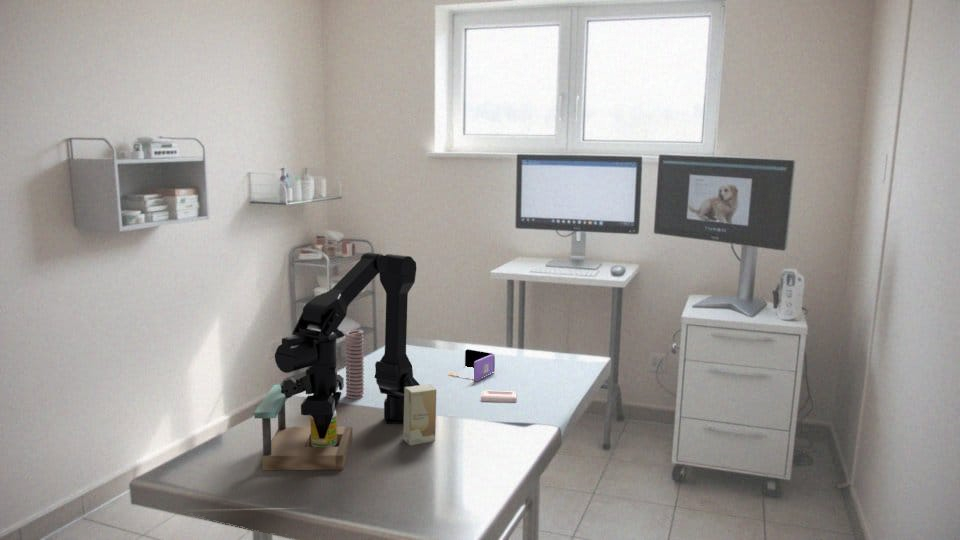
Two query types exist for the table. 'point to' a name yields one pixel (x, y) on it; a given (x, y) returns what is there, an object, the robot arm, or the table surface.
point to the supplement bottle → (331, 434)
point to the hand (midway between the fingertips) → (324, 433)
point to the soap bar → (499, 396)
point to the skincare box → (419, 414)
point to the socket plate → (296, 441)
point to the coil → (354, 364)
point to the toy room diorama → (479, 363)
